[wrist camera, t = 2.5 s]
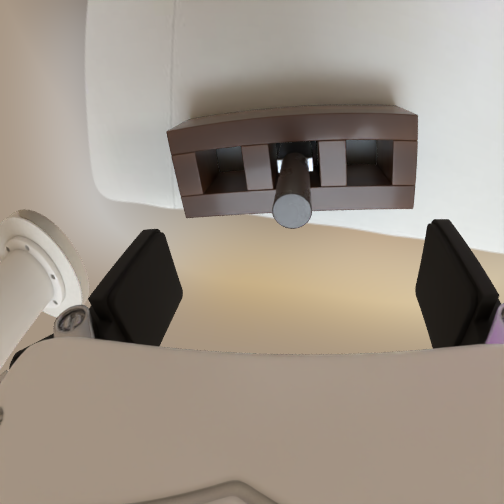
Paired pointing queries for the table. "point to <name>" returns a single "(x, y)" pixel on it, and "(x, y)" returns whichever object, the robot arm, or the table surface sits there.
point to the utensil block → (293, 130)
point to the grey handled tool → (293, 184)
